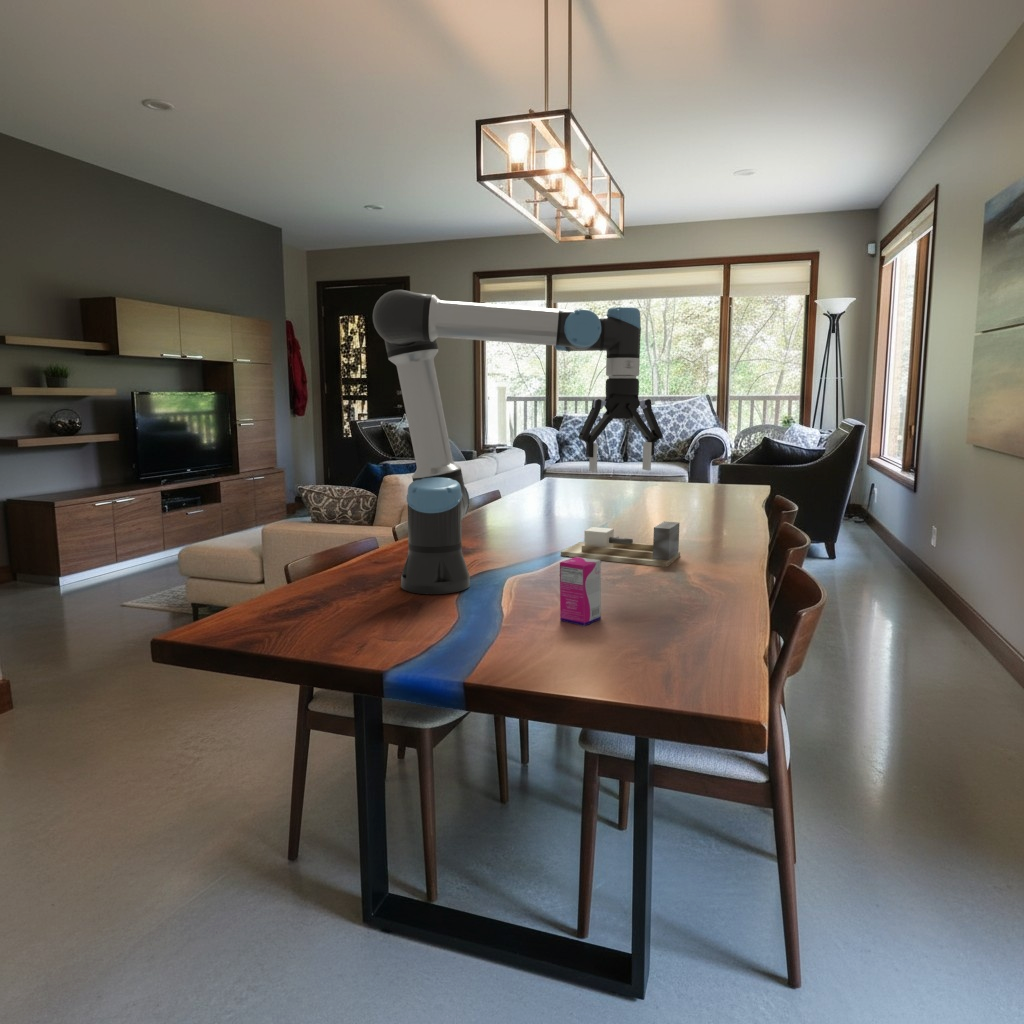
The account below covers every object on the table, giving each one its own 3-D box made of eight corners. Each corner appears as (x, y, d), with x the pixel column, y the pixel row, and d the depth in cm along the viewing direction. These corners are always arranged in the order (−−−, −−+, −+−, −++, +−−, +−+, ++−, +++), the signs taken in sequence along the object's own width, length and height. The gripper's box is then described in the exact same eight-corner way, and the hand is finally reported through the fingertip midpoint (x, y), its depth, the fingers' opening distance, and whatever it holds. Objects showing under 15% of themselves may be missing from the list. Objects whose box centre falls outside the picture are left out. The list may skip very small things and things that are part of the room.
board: (560, 555, 197) (561, 521, 196) (580, 546, 210) (580, 513, 208) (666, 566, 185) (667, 530, 184) (680, 555, 198) (681, 521, 196)
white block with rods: (584, 549, 199) (584, 530, 198) (597, 542, 208) (597, 524, 207) (628, 553, 193) (628, 534, 193) (639, 546, 202) (640, 528, 202)
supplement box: (575, 613, 146) (576, 555, 145) (601, 619, 143) (603, 560, 141) (558, 620, 142) (559, 561, 140) (584, 626, 138) (585, 565, 137)
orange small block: (618, 545, 203) (618, 538, 203) (619, 544, 204) (619, 537, 204) (620, 545, 203) (620, 538, 203) (621, 544, 204) (622, 537, 204)
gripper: (577, 376, 164) (576, 474, 167) (679, 377, 171) (676, 470, 175) (565, 377, 171) (563, 470, 174) (663, 378, 178) (660, 467, 182)
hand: (620, 470), depth 175 cm, fingers open, 13 cm apart
